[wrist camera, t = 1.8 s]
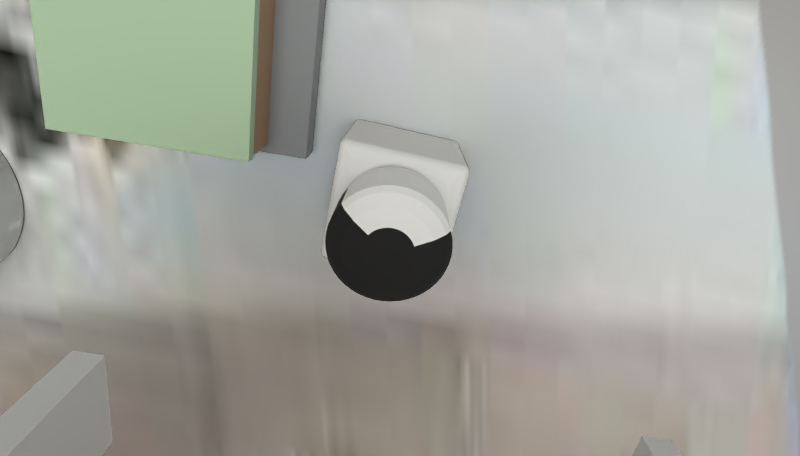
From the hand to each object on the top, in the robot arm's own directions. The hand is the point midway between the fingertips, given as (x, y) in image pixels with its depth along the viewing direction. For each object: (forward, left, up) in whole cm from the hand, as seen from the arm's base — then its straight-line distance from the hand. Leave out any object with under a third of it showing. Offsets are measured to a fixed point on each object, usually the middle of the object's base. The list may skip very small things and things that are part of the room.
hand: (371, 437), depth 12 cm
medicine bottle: (0, 0, -23) cm, 23 cm away
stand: (-14, +7, -23) cm, 28 cm away
